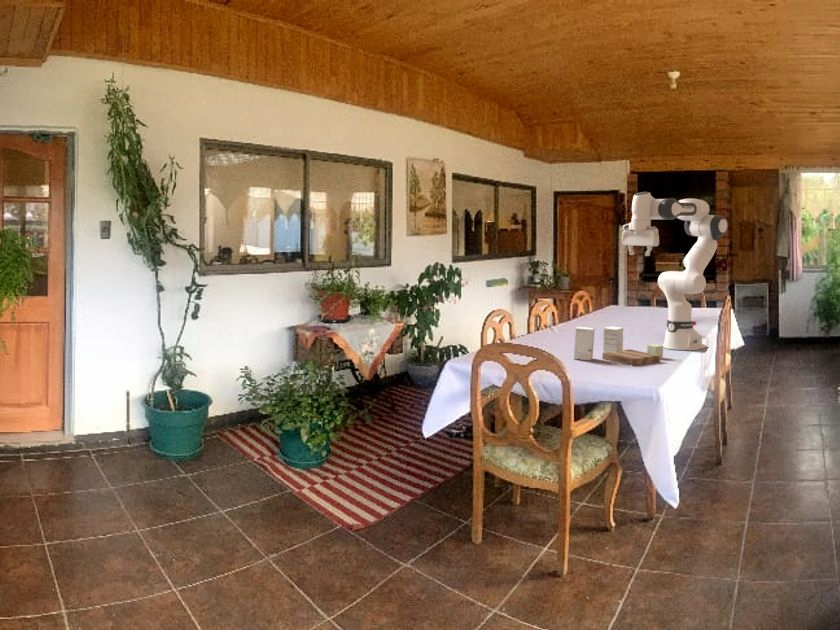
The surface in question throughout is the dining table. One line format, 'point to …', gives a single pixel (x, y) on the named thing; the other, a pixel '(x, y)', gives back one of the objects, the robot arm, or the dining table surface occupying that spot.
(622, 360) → the walnut stand
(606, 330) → the supplement box
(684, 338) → the robot arm
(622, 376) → the dining table surface
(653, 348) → the sage block
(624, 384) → the dining table surface
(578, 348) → the skincare box
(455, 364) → the dining table surface
